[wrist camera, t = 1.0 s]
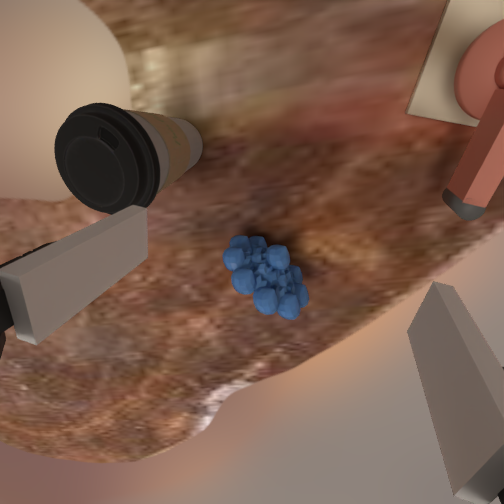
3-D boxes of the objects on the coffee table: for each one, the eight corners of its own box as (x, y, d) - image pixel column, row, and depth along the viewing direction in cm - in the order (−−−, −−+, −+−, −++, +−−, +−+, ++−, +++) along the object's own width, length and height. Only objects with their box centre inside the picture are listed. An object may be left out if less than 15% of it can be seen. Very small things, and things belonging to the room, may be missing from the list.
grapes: (331, 252, 38) (328, 307, 28) (302, 286, 42) (288, 347, 32) (255, 202, 38) (223, 239, 28) (231, 241, 42) (195, 287, 31)
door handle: (482, 6, 22) (523, -21, 17) (592, 21, 21) (669, -4, 16) (404, 190, 28) (417, 208, 23) (484, 208, 27) (515, 231, 22)
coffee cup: (220, 111, 35) (147, 116, 22) (212, 190, 39) (147, 233, 26) (146, 95, 36) (36, 92, 23) (146, 173, 41) (54, 207, 28)
